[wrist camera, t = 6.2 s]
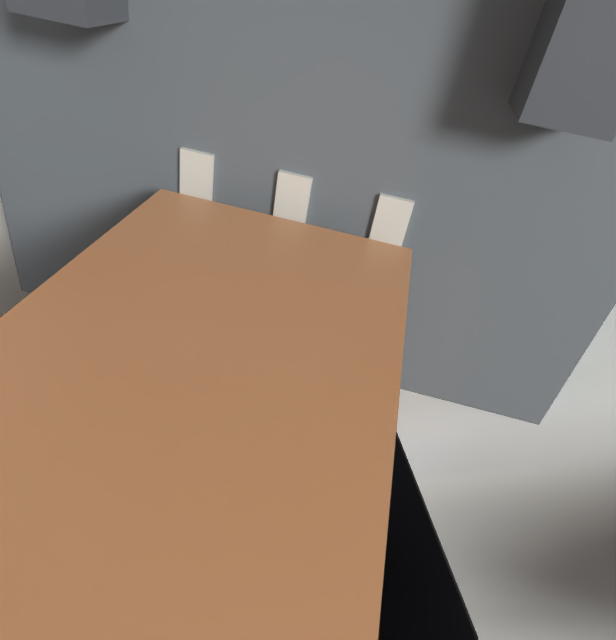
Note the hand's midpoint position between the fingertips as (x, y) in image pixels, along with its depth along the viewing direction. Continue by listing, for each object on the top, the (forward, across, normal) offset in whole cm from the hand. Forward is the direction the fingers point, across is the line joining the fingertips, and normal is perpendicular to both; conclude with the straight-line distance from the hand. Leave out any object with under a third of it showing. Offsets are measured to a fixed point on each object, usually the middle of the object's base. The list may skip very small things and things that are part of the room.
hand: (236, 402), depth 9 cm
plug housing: (+2, 0, 0) cm, 2 cm away
